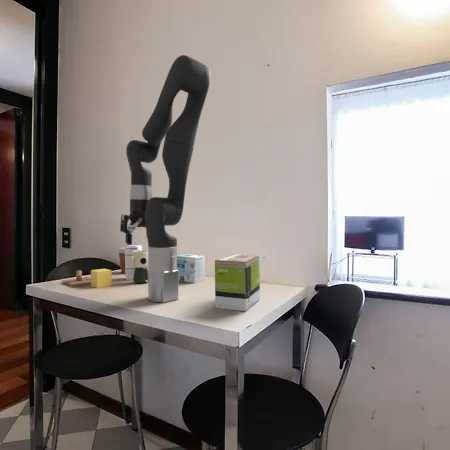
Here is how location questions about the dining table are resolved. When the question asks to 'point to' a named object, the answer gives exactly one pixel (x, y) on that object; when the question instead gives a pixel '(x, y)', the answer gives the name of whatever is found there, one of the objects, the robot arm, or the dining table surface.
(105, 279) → the yellow cube
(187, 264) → the light bulb box
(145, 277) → the character mug
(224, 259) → the tea box
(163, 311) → the dining table surface
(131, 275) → the syrup box
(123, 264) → the disposable coffee cup
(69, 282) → the post block
